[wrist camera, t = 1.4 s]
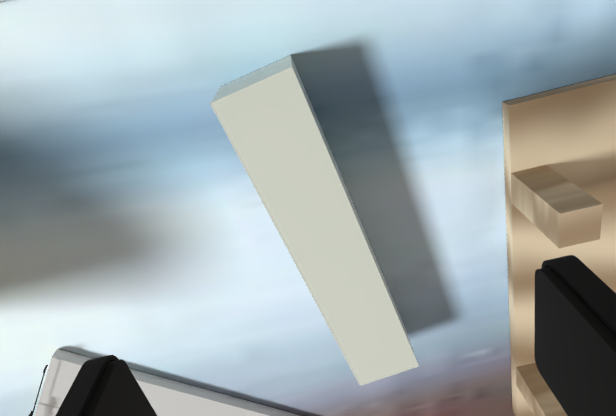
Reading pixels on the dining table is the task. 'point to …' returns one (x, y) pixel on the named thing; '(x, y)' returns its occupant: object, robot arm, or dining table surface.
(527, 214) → the beech rack
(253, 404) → the baseboard molding
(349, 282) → the clay strip
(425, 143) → the dining table surface
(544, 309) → the robot arm
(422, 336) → the dining table surface
